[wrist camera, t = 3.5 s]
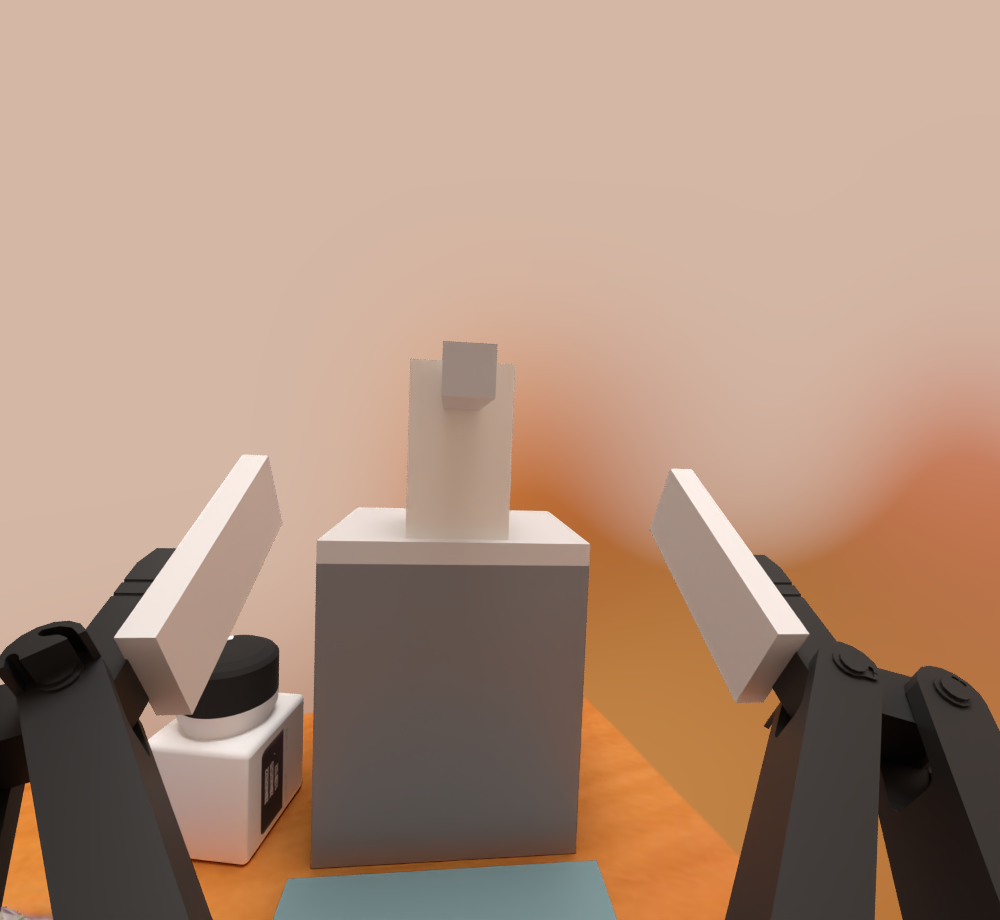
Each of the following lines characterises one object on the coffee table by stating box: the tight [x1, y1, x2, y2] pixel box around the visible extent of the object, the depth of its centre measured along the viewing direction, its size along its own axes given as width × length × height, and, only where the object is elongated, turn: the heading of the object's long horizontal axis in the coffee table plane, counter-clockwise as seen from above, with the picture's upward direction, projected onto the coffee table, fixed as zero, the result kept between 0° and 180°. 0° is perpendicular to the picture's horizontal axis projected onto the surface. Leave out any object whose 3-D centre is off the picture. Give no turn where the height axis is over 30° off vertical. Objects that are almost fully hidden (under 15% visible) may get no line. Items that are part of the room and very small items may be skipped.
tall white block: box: [405, 341, 515, 540], centre depth 30 cm, size 18×7×12 cm, turn 6°
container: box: [148, 635, 303, 865], centre depth 35 cm, size 8×8×13 cm
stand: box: [311, 507, 590, 869], centre depth 39 cm, size 14×18×22 cm
